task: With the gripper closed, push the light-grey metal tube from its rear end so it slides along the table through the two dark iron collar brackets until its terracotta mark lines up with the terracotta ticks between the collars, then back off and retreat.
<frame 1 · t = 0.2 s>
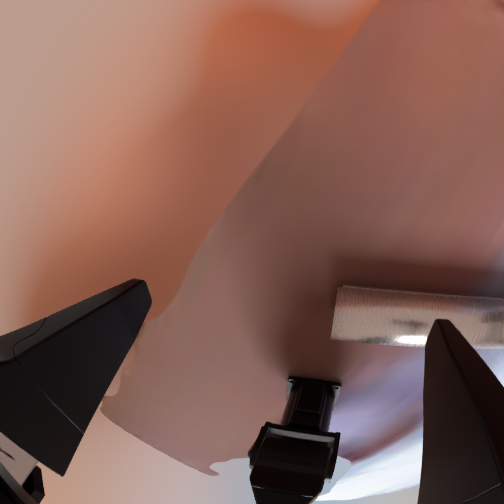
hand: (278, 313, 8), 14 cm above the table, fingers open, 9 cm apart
tube: (431, 304, 22), on the table
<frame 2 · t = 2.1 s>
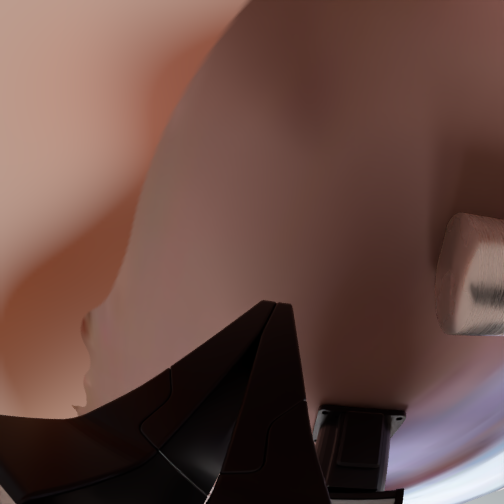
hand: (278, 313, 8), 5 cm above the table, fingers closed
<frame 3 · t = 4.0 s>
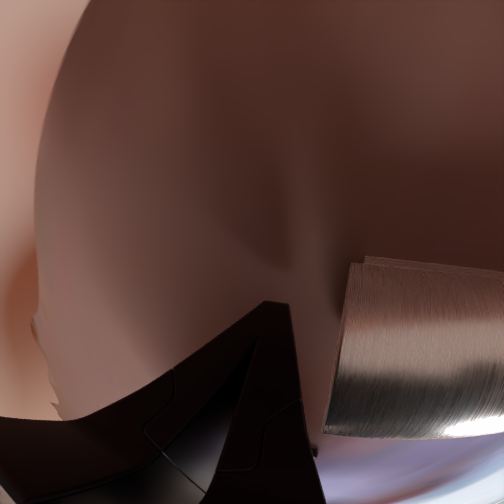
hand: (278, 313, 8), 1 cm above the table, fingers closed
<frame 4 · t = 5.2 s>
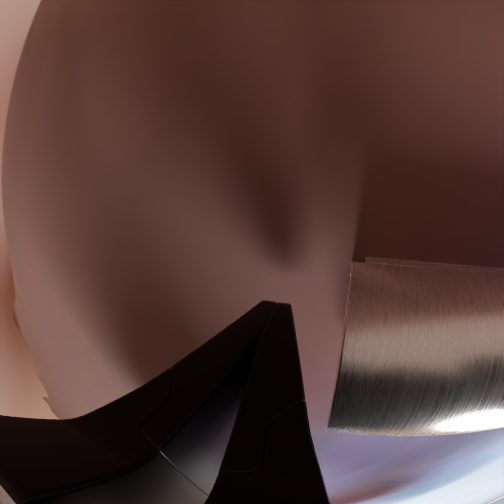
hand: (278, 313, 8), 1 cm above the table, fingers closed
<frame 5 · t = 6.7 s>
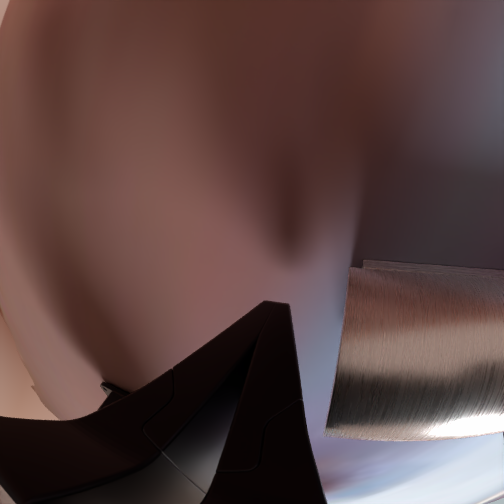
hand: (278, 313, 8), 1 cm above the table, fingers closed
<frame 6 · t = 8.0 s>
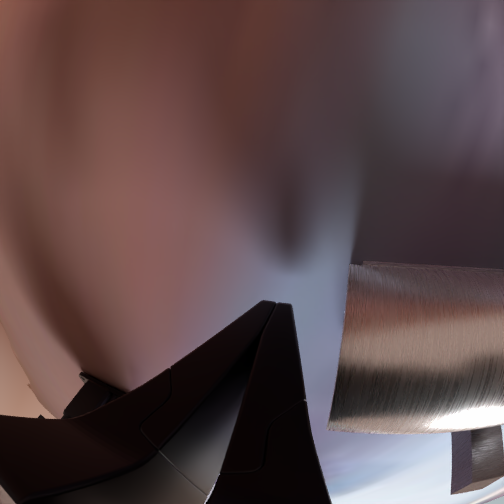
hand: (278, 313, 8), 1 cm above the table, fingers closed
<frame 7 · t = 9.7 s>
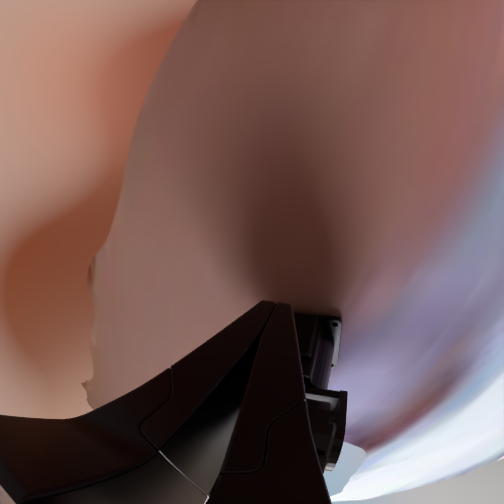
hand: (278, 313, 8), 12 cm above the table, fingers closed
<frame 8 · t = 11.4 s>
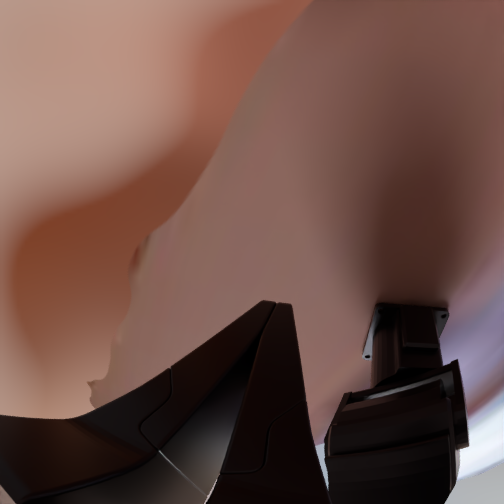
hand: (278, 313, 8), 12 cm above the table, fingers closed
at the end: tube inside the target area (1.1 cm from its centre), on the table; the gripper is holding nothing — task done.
